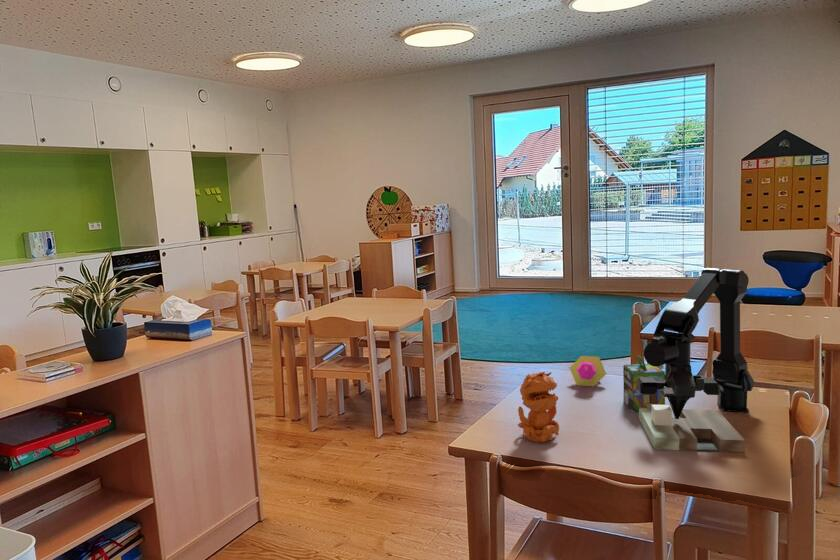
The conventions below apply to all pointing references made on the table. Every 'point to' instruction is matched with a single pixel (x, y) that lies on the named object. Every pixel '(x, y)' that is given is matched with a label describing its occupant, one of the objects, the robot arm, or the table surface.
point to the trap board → (693, 432)
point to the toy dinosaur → (538, 407)
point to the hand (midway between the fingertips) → (676, 418)
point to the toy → (587, 371)
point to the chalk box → (630, 385)
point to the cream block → (661, 415)
